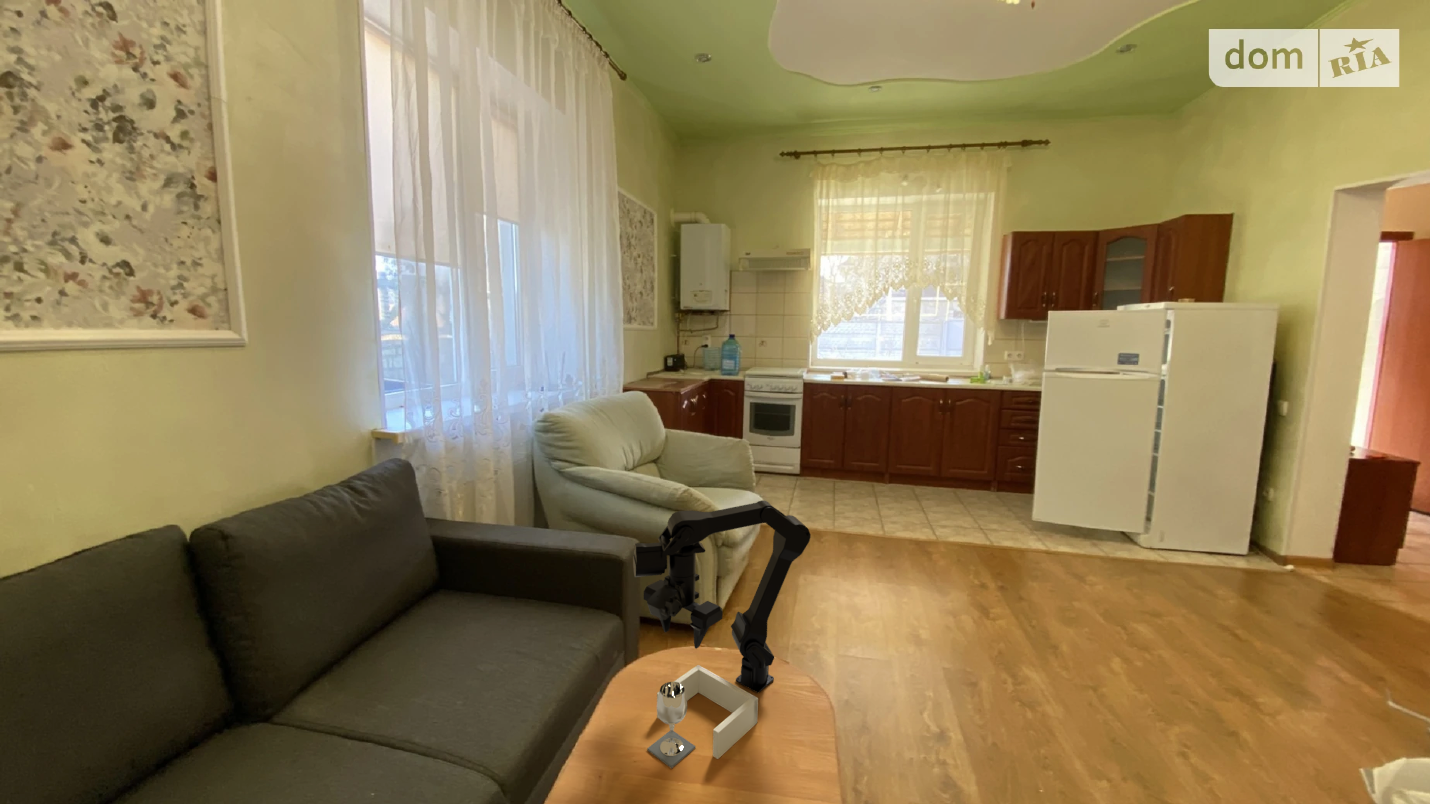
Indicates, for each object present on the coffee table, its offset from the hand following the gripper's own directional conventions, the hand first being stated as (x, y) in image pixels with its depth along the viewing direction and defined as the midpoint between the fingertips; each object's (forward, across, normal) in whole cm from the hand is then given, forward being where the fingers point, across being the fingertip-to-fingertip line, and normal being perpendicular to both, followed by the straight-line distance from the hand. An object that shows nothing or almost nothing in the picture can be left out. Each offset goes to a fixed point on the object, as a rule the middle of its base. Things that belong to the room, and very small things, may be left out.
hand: (681, 639), depth 118 cm
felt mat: (+12, +10, -13) cm, 21 cm away
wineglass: (+12, +10, -13) cm, 20 cm away
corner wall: (+12, +10, -3) cm, 16 cm away
